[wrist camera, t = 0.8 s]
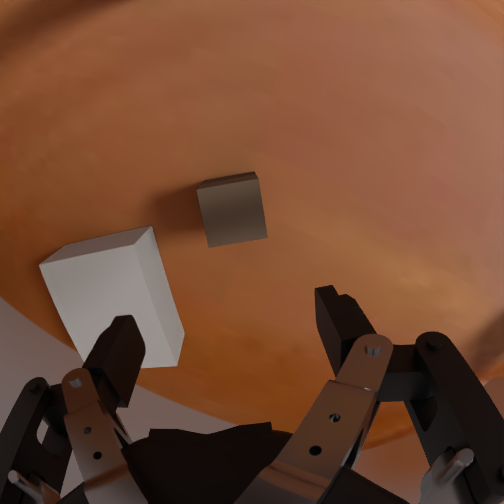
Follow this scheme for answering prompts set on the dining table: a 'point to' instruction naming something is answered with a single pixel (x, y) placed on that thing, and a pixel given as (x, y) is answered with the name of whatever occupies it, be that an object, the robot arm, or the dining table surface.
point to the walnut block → (232, 209)
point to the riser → (115, 292)
